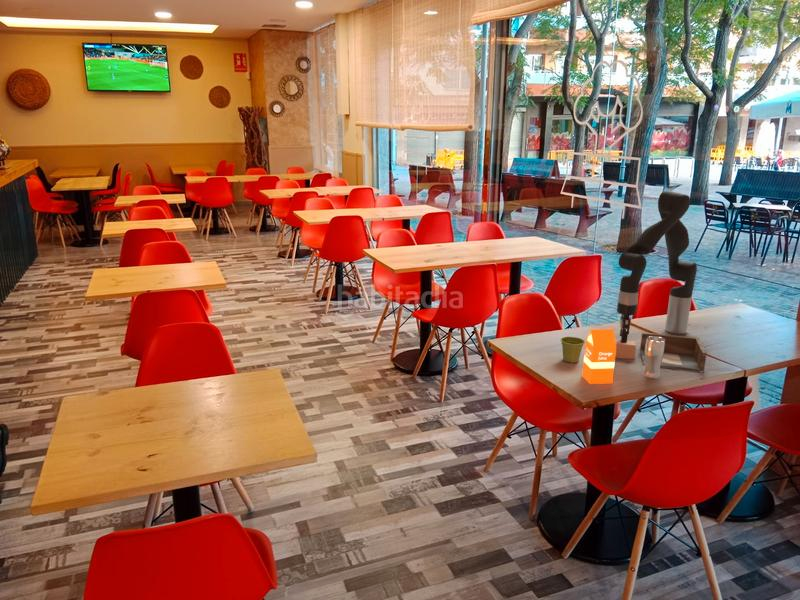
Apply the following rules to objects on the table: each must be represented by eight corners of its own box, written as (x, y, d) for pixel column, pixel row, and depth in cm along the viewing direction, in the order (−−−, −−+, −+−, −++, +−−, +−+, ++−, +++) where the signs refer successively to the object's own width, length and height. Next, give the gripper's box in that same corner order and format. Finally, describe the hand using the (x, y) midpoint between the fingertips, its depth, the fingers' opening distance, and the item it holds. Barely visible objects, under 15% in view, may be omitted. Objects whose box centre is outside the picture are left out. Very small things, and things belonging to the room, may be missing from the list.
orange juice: (612, 383, 228) (618, 332, 222) (589, 384, 227) (594, 332, 222) (604, 375, 236) (609, 325, 230) (581, 375, 235) (586, 326, 229)
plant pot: (555, 356, 254) (557, 336, 251) (577, 355, 255) (579, 336, 252) (563, 365, 245) (565, 344, 242) (586, 364, 246) (588, 344, 243)
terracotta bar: (608, 356, 255) (610, 343, 253) (608, 352, 259) (609, 339, 257) (634, 359, 252) (636, 345, 250) (633, 355, 256) (635, 341, 255)
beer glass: (646, 370, 240) (651, 334, 236) (664, 375, 235) (669, 338, 231) (638, 375, 235) (642, 338, 231) (656, 380, 231) (661, 343, 226)
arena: (639, 350, 262) (642, 332, 259) (696, 355, 256) (698, 337, 253) (643, 365, 245) (645, 346, 243) (703, 372, 239) (706, 352, 237)
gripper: (617, 296, 256) (612, 333, 261) (618, 305, 243) (614, 344, 248) (636, 298, 254) (631, 335, 259) (638, 307, 241) (634, 346, 246)
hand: (623, 339), depth 253 cm, fingers open, 8 cm apart
